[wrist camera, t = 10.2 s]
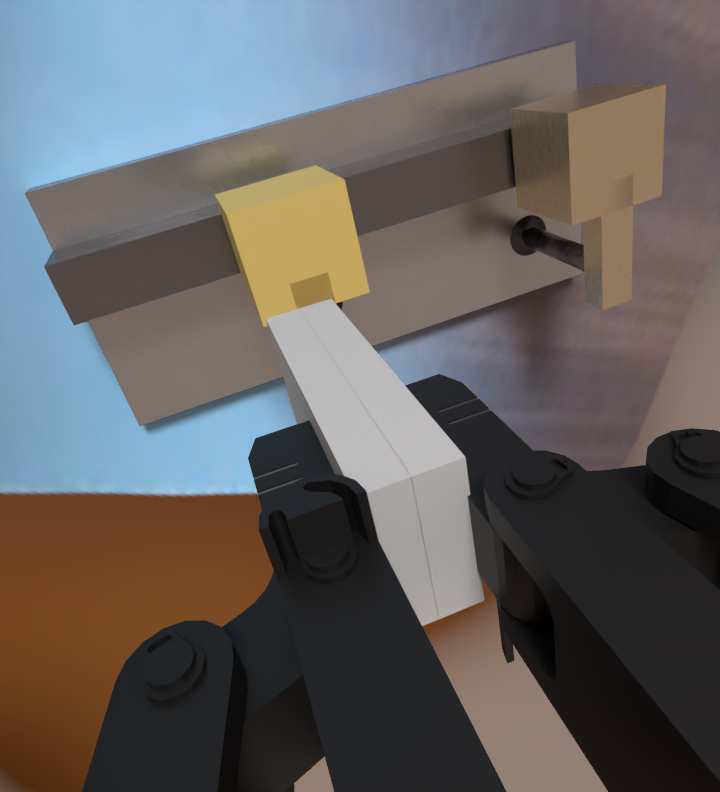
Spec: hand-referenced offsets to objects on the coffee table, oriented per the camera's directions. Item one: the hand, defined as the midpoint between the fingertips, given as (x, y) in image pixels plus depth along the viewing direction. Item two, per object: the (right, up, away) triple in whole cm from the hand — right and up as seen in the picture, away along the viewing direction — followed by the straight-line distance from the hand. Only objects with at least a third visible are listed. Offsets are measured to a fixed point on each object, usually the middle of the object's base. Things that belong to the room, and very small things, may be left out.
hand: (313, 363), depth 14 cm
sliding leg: (-2, +5, +13) cm, 14 cm away
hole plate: (0, +7, +15) cm, 16 cm away
